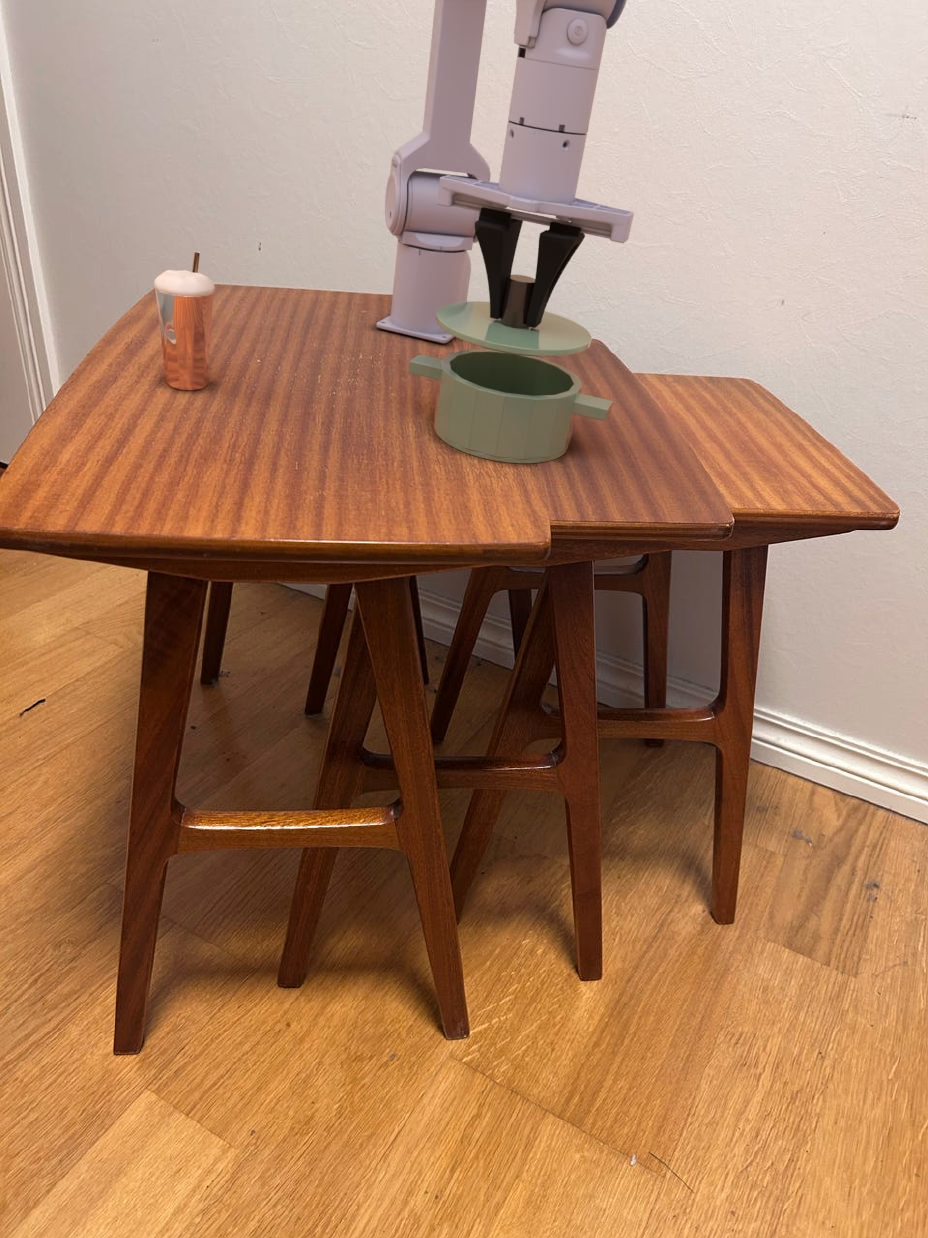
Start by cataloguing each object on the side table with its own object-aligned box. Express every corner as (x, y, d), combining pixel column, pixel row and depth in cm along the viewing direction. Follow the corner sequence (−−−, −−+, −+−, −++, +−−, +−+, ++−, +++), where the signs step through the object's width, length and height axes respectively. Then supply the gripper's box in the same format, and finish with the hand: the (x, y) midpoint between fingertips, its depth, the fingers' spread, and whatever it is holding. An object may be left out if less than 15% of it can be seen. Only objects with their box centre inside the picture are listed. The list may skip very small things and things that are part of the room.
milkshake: (225, 376, 80) (225, 256, 74) (204, 397, 75) (202, 270, 70) (173, 367, 80) (169, 247, 74) (149, 387, 75) (143, 260, 70)
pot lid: (463, 305, 79) (470, 249, 77) (602, 337, 77) (614, 280, 75) (412, 338, 69) (418, 275, 67) (570, 376, 67) (583, 312, 64)
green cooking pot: (430, 392, 84) (438, 333, 81) (610, 437, 80) (624, 377, 77) (383, 431, 74) (389, 366, 71) (583, 484, 71) (598, 418, 68)
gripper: (432, 110, 63) (411, 310, 71) (638, 149, 60) (594, 352, 68) (464, 108, 69) (442, 292, 76) (653, 143, 66) (611, 331, 74)
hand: (515, 320), depth 72 cm, fingers closed on pot lid, 2 cm apart
